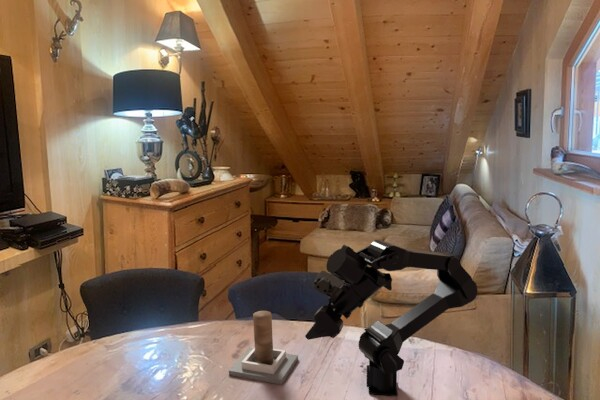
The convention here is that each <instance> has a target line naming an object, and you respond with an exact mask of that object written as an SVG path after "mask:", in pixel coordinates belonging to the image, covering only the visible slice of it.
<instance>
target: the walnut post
mask: <svg viewBox="0 0 600 400" xmlns="http://www.w3.org/2000/svg"><path fill="white" fill-rule="evenodd" d="M272 316H273V315H272V312H271V311H268V310H258V311H256V312H254V313H253V314H252V319H253V337H254V338H253V339H254V341H253V342H254V347H255V362H256V363H261V364H267V365H272V364H273V363H274V360H273V349H274V343H273V341H274V339H273V320H272V319H273V318H272Z"/></svg>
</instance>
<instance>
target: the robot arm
mask: <svg viewBox="0 0 600 400" xmlns="http://www.w3.org/2000/svg"><path fill="white" fill-rule="evenodd" d="M325 268H326V270H321V271H320V272H319V273H318V274H317V276H316V278H315V279H314V282H313V283H312V284H313V285H312V289H314V291H317V292H319V293H321V295H325V296H327V297H328V298H327V301H328V303H327V305H325V304H324V305H322V306H321V307H320V308H318V310H317V311H316V312H315V314H314V315H313V319H314V323H313V325H312V326H311V327H310V329H309V330H308V331H307V332H306V334H305V336H304V337H305V338H306V339H307V340H308V341H309V340H314V339H319V338H327V337H329V338H332V339H334V338H336V337H337V336H339V334H340V333H341V332H342V330H343V327H344V320H343V319H342V316H343V317H344V318H345V319H346V320H347V319H349V318H350V317H351V315H352V313H353V312H354V311H356V310H357V309H358V308H359V309H360V308H362V307H363V306H364V304H365V302H366V301H367V300H369V299H370V298H371V297H373V296H374V295H375V294H376V293H377V292H378V291H380V290H381V289H382V288H383V287H384V288H385V289H386V290H388V291H392V290H393V289H392V282H393V278H392V275H391V274H390V272H395V271H402V270H404V269H406V268H416V269H424V270H433V271H434V270H435V271H436V277H437V278H438V280H439V281H438V282H437V284H436V286H435V290H434V291H433V293H432V294H430V295H429V296H427V297H426V298H424V299H423V300H422V301H420V302H419V303H417V304H416V305H415V306H413V307H412V308H411V309H409V310H407V311H406V312H404V313H403V314H402V315H400V316H399V317H397V318H396V319H394V320H393V321H392V322H390V323H387V324H384V323H382V322H381V320H377V321H375V322H374V323H373V324H372V325H370V326H369V327H367V328H364V329H363V330H364V332H363V333H362V334H361V335H360V336H359V341H358V349H359V350H360V353H362V354H363V355H364V357H365V358H366V359H368V363H369V364H367V365H366V387H367V388H368V395H380V396H392V397H395V396H398V393H399V392H398V386H397V385H398V383H397V380H398V379H397V378H398V376H397V375H398V372H399V371H402V369H403V366H404V363H405V360H404V359H403V358H401V356H399V354H400V352H401V349H402V346H403V343H404V342H406V340H408V339H409V338H411V337H413V335H415V334H416V333H418V332H419V331H420V330H421V329H423V328H424V327H426V326H427V325H428V324H430V323H432V321H434V320H435V319H437V318H438V317H439V316H441V315H442V314H443V313H445V312H446V311H447V310H448V311H449V310H450V309H457V308H462V307H464V306H466V305H468V304H470V303H472V302H474V300H475V299H476V298H477V296H478V285H477V283H476V282H475V280H474V279H473V278H472V276H471V275H470V273H468V272H467V270H466V269H465V268H464V267H463V265H462V264H461V262H460V260H459V258H458V257H456V256H455V255H452V254H449V253H447V252H444V251H441V252H438V251H437V252H436V251H427V250H421V249H412V248H404V247H401V246H399V245H395V244H393V243H390V242H387V241H385V240H381V239H375V240H373V241H372V242H371V243H370V244H369V246H368V245H367V246H365V247H364V248H362V249H360V250H358V251H355V250H354V249H353V248H352V247H350V246H349V245H346V244H343V245H342V246H341V248H339V249H338V248H337V250H335V251H334V252H332V253H331V254H330V256H329V257H328V259H327V262H326V267H325ZM381 270H385V271H386V272H389V273H385V272H382V271H381Z"/></svg>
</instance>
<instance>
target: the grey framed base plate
mask: <svg viewBox="0 0 600 400" xmlns="http://www.w3.org/2000/svg"><path fill="white" fill-rule="evenodd" d="M273 360H274V363H273V364H272V365H267V364H261V363H256V362H255V346H254V347H248V349H247V350H246V351H245V352H244V353H243V354H242V355H241V356H240V357H239V358H238V359H237V361H236V362H235V363H234V364H233V365H232V366H231V367H230V368H229V370H228V376H233V377H238V378H243V379H249V380H255V381H260V382H267V383H271V384H277V385H283V383H284V382H285V380H286V379H287V377H288V376H289V374H290V372H291V371H292V370H293V368H294V366H295V365H296V363H297V362H298V361H299V355H297V354H293V353H287V351H286V350H284V349H279V348H273Z"/></svg>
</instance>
